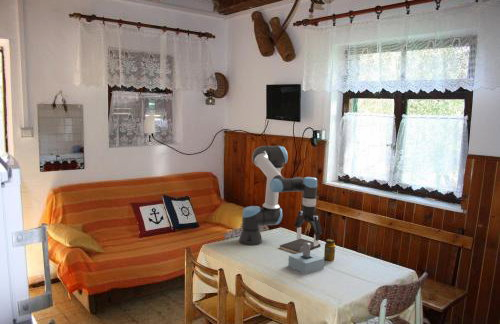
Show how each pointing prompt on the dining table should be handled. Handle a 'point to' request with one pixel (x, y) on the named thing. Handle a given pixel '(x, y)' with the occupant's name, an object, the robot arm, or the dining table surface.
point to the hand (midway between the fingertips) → (307, 242)
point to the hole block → (306, 263)
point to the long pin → (306, 250)
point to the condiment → (329, 251)
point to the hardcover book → (297, 245)
